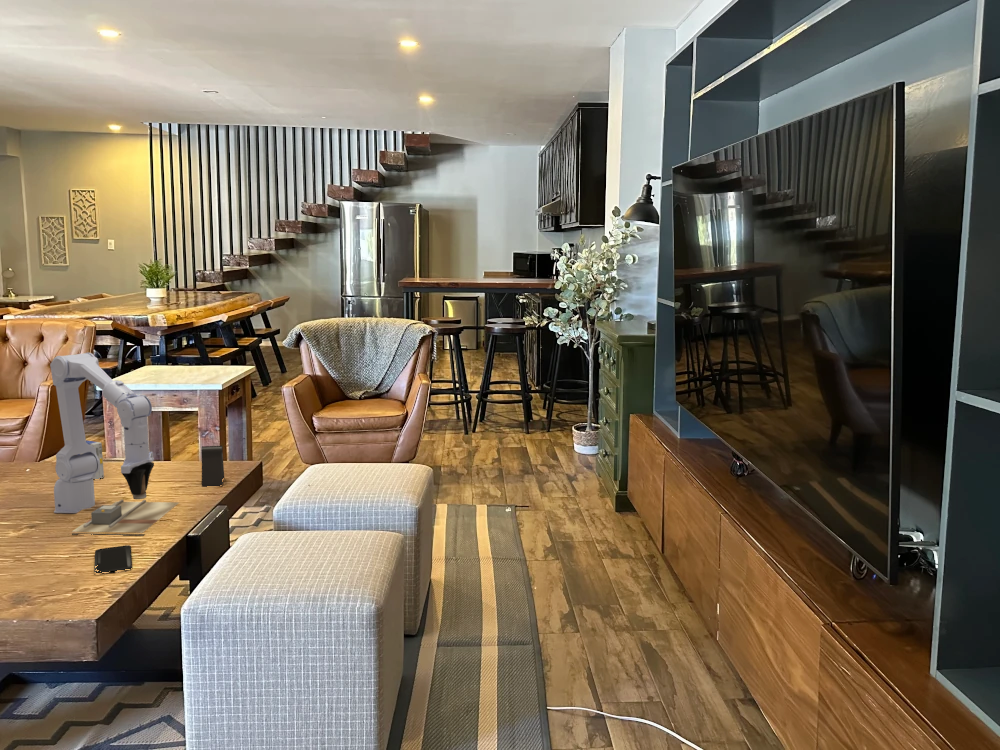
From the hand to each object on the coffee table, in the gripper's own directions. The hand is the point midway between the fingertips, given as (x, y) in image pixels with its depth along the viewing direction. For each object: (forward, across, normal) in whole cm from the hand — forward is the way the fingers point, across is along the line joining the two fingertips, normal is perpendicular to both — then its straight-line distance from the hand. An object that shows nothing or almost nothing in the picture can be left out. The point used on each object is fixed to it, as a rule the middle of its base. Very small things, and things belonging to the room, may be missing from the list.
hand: (139, 492), depth 203 cm
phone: (+10, -24, -4) cm, 26 cm away
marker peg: (+1, 0, 0) cm, 1 cm away
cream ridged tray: (+9, +4, +5) cm, 11 cm away
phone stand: (+9, +38, -6) cm, 40 cm away
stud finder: (+8, 0, +9) cm, 12 cm away
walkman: (+9, +42, +34) cm, 55 cm away
